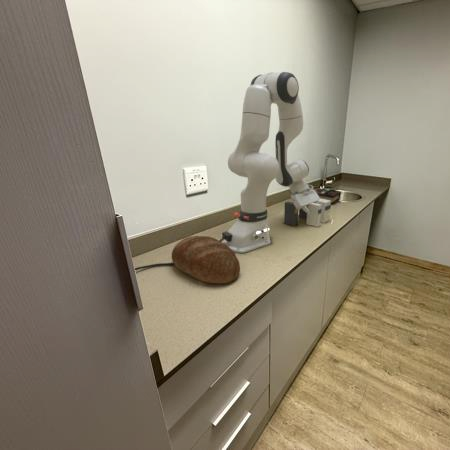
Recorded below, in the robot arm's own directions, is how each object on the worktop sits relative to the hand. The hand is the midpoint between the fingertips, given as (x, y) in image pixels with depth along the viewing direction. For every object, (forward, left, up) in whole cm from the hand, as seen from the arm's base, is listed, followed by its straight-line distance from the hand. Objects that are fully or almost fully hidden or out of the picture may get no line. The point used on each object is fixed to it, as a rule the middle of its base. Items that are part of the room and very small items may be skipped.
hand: (314, 211), depth 131 cm
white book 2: (+8, +1, -8) cm, 11 cm away
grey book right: (+8, +11, -8) cm, 15 cm away
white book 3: (+11, +1, -8) cm, 14 cm away
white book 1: (0, 0, -8) cm, 8 cm away
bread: (-64, +7, -8) cm, 65 cm away
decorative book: (+51, +24, -8) cm, 57 cm away
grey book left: (-7, +11, -8) cm, 15 cm away
